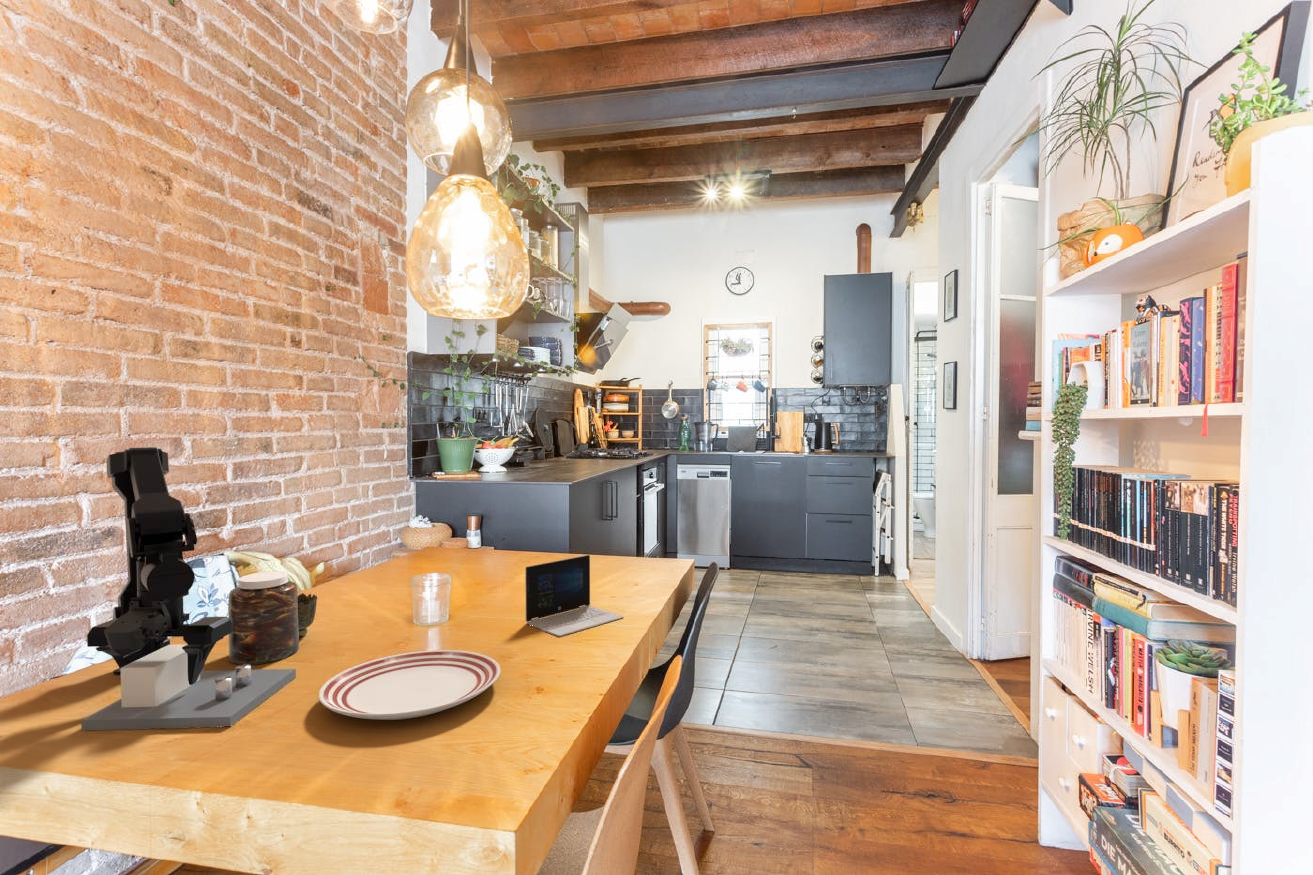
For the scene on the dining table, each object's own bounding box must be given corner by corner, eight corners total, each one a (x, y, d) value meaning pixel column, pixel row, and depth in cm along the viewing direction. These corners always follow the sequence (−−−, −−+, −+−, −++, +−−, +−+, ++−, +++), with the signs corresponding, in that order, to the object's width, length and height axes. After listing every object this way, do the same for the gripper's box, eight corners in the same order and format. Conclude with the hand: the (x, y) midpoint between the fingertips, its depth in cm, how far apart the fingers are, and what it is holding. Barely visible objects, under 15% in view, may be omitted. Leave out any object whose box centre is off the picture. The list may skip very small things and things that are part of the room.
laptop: (559, 639, 131) (558, 576, 130) (525, 625, 139) (524, 566, 139) (624, 620, 143) (624, 562, 143) (589, 608, 152) (589, 554, 152)
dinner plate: (331, 676, 111) (330, 657, 111) (491, 655, 121) (490, 638, 121) (305, 752, 86) (304, 728, 86) (510, 718, 95) (510, 696, 95)
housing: (121, 707, 96) (120, 668, 96) (169, 680, 106) (168, 644, 106) (155, 706, 96) (154, 667, 96) (200, 679, 106) (199, 644, 106)
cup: (286, 644, 127) (285, 605, 127) (270, 637, 131) (269, 599, 131) (324, 634, 133) (323, 596, 133) (308, 628, 137) (307, 591, 137)
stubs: (211, 701, 98) (211, 682, 98) (240, 682, 105) (240, 664, 105) (226, 701, 98) (226, 681, 98) (254, 682, 105) (253, 664, 105)
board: (81, 730, 92) (81, 720, 92) (171, 679, 110) (171, 671, 110) (230, 726, 93) (230, 716, 93) (295, 677, 111) (295, 668, 110)
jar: (314, 646, 126) (312, 571, 126) (263, 668, 115) (261, 585, 114) (266, 641, 129) (265, 567, 129) (212, 661, 118) (210, 581, 118)
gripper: (53, 602, 92) (56, 708, 92) (185, 600, 93) (187, 705, 93) (115, 583, 103) (117, 678, 104) (233, 581, 104) (235, 675, 104)
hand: (162, 684), depth 101 cm, fingers open, 9 cm apart
